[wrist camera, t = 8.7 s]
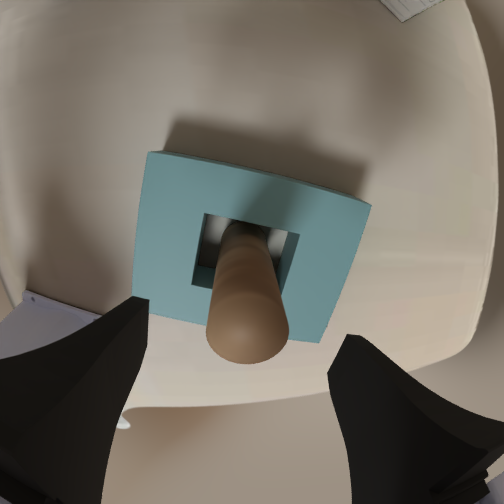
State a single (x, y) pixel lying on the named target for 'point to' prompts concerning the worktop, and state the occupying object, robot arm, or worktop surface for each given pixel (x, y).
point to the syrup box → (408, 7)
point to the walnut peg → (246, 299)
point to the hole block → (249, 210)
